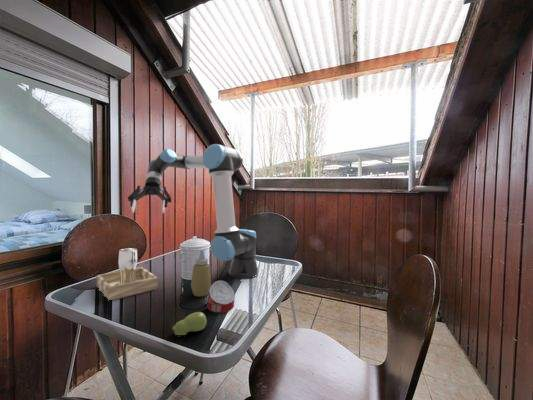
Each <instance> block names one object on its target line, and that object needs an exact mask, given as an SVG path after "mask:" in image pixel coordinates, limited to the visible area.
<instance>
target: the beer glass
mask: <svg viewBox="0 0 533 400" xmlns="http://www.w3.org/2000/svg"><path fill="white" fill-rule="evenodd" d="M117 264H118V269H119V270H118V271H120V283H119V285H121V284H125V283H130V282H135V271H136V268H137V265H138V249H137V248H135V247H127V248H126V247H124V248H121V249H119V252H118V263H117Z"/></svg>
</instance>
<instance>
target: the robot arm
mask: <svg viewBox="0 0 533 400" xmlns="http://www.w3.org/2000/svg"><path fill="white" fill-rule="evenodd" d="M243 158H244V157H243V155H242V153H241V152H240V151H239V150H237V149H236V148H232V147H229V146H224V145H223V144H218V143H213V144H211V145H209V146H208V147H207V148H206V149H205V150H204V152H203V154H201V155H199V154H198V155H193V154H192V155H179V154H177V153H176V152H175V151H174V150H172V149H171V148H165V149H164V150H163V151H161V152H160V153H159V154H158V156H157V157H156V158H155V159H152V160H151V161H150V162H149V164H148V167H147V174H146V177H145V183H144V186H141V185H137V188H135V190H134V191H133V192H131V194H129V195H128V196H127V201H128V202H130V207H131V210H130V211H131V213H132V214H134V213H135V210H136V206H137V202H138V201H140V199H142V198H144V197H146V196H156V197H158V198H160V200H162V208H161V210H162V211H161V212H162V214H165V210H166V209H165V208H167V207H168V203H172V197H171V195H170V194H169V192H168V190H167V187H166V186H163V187H161V184H162V178H163V173H164V172H165V170H167V169H168V168H176V169H177V168H178V169H184V170H191V169H207V170H208V175H209V176H210V177H211V178H212V182H213V193H214V206H215V217H216V230H214V232H213V233H214V238H212V239H211V242H210V245H209V246H210V247H209V249H210V253H212V255H213V257H215V259H216V260H218V261H220V262H227V261H231V263H230V266H229V268H228V275H229V276H230V277H232V278H234V279H235V278H236V279H251V278H250V277H253V276H255V275H257V274H258V275H259V268H258V265H257V260H256V250H257V248H256V247H257V232H256V230H251V229H244V228H238V227H237V225H236V217H235V216H236V215H235V207H234V195H233V184H232V176H233V174H234V173H235V172H236V171H238V170H240V169H241V168H242V165H243V164H244V159H243ZM161 191H162V192H161ZM258 275H257V276H258ZM255 277H256V276H255ZM253 278H254V277H253Z"/></svg>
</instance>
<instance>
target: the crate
mask: <svg viewBox="0 0 533 400" xmlns="http://www.w3.org/2000/svg"><path fill="white" fill-rule="evenodd" d="M119 283H120V270H118V271H113V272H108V273H107V272H106V273H101V274H97V275H96V288H97V287H98V288H99V289H98V288H97V289H98V291H99V292H100V291H101V292H102V293H103V294H104V295H103V294H102V293H101V292H100V293H101V294H102V295H103V297H106V298H107V299H108V300H107V299H106V298H105V299H106V300H107V301H108V302H110V301H109V300H112V301H115V300H119V299H123V298H127V297H131V296H135V295H138V294H143V293H146V292H147V293H149V292H151V291H154V290H156V291H157V290H158V287H159V285H158V284H159V277H158V276H157V275H155V274H153V273H152V272H150V271H149V270H148V269H146V268H144V267H143V266H140V267H136V271H135V282H130V283H125V284H121V285H119Z"/></svg>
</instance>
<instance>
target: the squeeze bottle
mask: <svg viewBox="0 0 533 400" xmlns="http://www.w3.org/2000/svg"><path fill="white" fill-rule="evenodd" d="M208 261H209V260H208V258H206V256H205V250H203V249H202V250H200V252H199V257H198V258H197V259H195V264H194V265H193V266H192V274H191V280H190V281H191V282H190V288H191V291H192V294H193V296H194V297H198V298H199V297H205V296H207V295H209V290H210V287H211V285H212V280H211V279H212V277H211V265H210V264H209V262H208Z"/></svg>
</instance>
